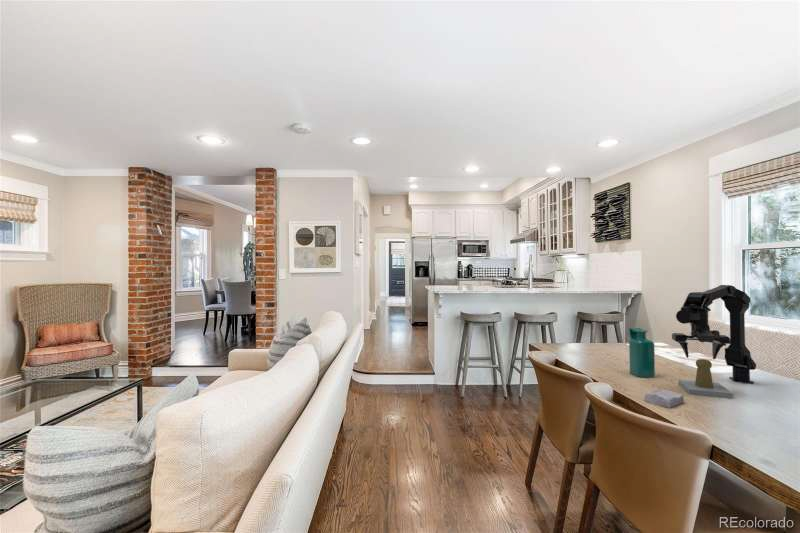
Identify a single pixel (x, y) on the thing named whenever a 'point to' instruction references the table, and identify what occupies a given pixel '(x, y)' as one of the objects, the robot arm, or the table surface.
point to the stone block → (664, 398)
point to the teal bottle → (641, 354)
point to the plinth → (705, 389)
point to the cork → (703, 374)
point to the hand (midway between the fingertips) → (700, 358)
